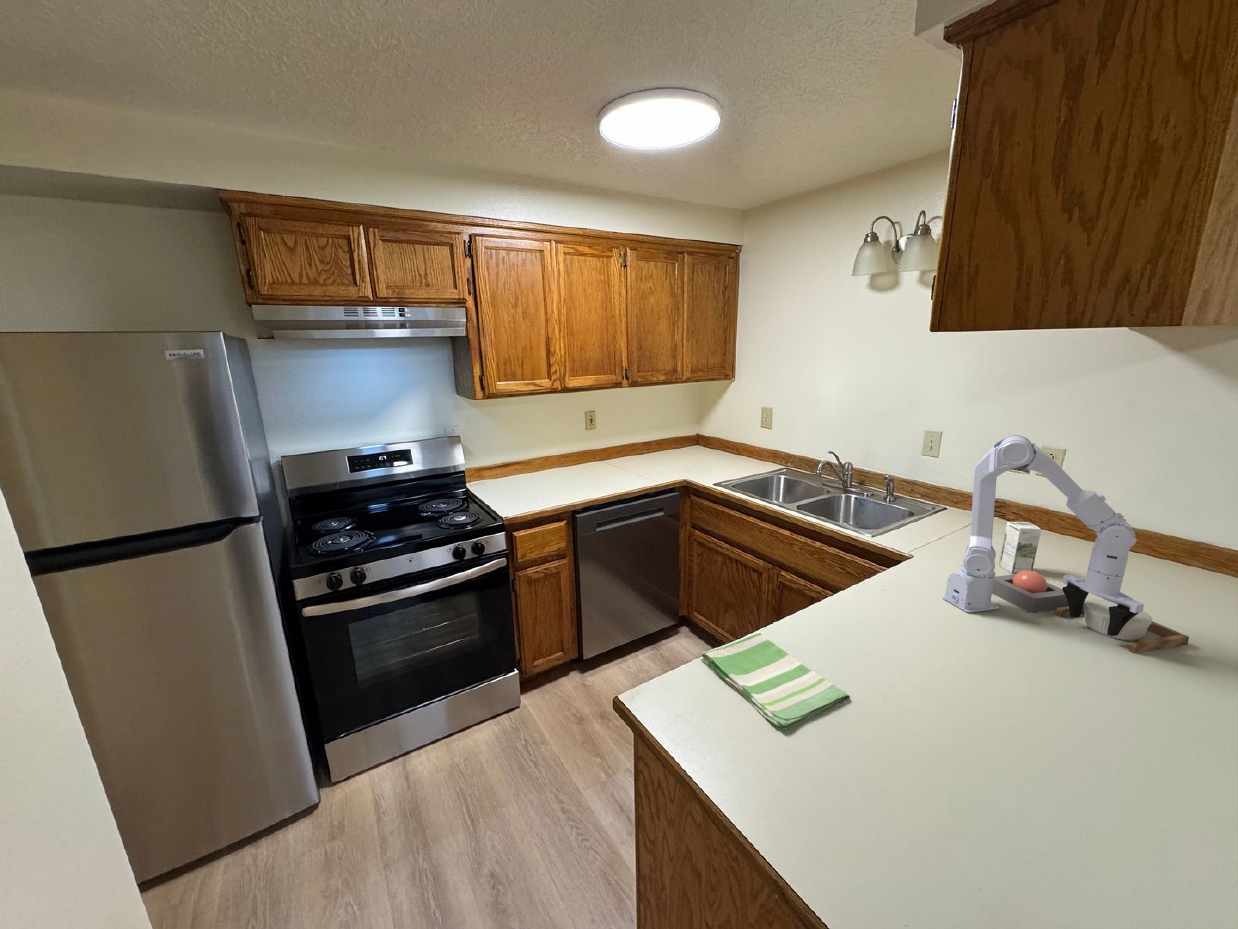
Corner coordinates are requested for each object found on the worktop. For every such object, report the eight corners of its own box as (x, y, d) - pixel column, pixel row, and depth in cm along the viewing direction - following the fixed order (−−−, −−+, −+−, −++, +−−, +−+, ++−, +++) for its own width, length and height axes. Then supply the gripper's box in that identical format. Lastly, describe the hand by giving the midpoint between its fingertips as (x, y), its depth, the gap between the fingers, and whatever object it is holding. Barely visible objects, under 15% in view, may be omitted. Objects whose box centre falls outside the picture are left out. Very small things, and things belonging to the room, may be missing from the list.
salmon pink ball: (1029, 604, 123) (1034, 579, 122) (1003, 591, 130) (1007, 567, 128) (1052, 601, 125) (1057, 576, 123) (1025, 589, 131) (1029, 565, 130)
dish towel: (781, 736, 83) (782, 723, 82) (697, 663, 103) (698, 651, 102) (850, 701, 91) (851, 688, 91) (760, 639, 111) (760, 628, 111)
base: (1031, 613, 121) (1033, 598, 120) (986, 590, 132) (989, 577, 131) (1069, 608, 123) (1072, 593, 122) (1023, 586, 134) (1025, 573, 133)
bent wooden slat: (1134, 653, 104) (1136, 645, 104) (1055, 615, 120) (1057, 607, 119) (1187, 645, 107) (1189, 636, 107) (1103, 608, 122) (1105, 601, 122)
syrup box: (1018, 566, 147) (1027, 521, 144) (1032, 575, 141) (1041, 528, 138) (998, 565, 148) (1006, 520, 144) (1011, 574, 142) (1020, 527, 139)
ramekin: (1090, 636, 111) (1095, 615, 109) (1072, 613, 120) (1076, 594, 119) (1158, 649, 106) (1163, 627, 105) (1133, 624, 115) (1138, 604, 114)
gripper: (1160, 583, 102) (1145, 641, 105) (1084, 556, 116) (1072, 608, 119) (1134, 587, 101) (1119, 645, 104) (1060, 559, 115) (1049, 611, 118)
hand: (1093, 625), depth 111 cm, fingers open, 7 cm apart
